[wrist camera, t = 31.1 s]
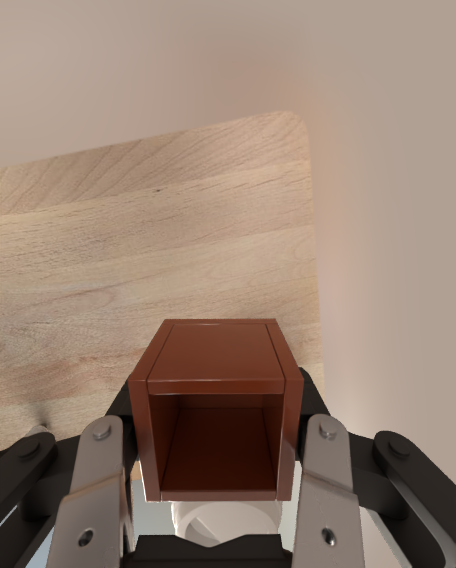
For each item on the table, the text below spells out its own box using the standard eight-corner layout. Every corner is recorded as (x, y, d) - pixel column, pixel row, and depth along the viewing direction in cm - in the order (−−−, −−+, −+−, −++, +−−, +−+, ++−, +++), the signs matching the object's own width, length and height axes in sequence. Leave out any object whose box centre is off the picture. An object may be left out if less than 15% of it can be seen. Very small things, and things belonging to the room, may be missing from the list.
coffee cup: (186, 370, 31) (150, 501, 17) (256, 360, 31) (281, 485, 16) (200, 425, 34) (180, 580, 19) (265, 416, 33) (294, 568, 19)
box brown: (164, 318, 11) (126, 380, 7) (275, 318, 11) (304, 379, 7) (172, 408, 13) (145, 502, 9) (270, 407, 13) (291, 501, 9)
